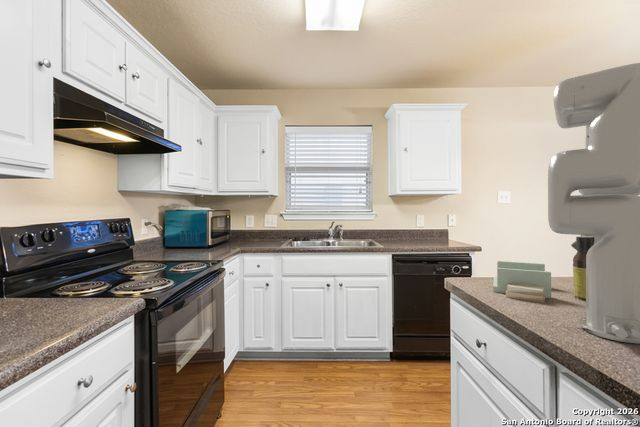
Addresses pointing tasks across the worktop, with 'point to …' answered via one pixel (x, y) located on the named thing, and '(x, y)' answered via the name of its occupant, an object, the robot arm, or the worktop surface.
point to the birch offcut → (526, 297)
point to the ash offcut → (525, 289)
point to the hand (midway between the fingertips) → (602, 269)
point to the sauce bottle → (581, 266)
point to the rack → (522, 276)
